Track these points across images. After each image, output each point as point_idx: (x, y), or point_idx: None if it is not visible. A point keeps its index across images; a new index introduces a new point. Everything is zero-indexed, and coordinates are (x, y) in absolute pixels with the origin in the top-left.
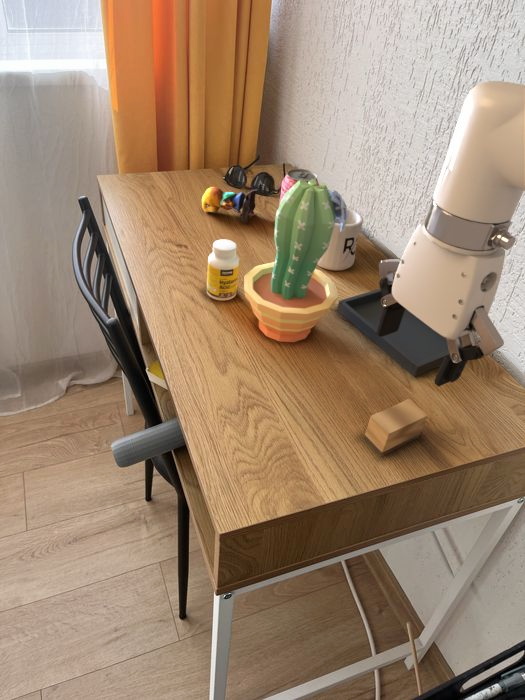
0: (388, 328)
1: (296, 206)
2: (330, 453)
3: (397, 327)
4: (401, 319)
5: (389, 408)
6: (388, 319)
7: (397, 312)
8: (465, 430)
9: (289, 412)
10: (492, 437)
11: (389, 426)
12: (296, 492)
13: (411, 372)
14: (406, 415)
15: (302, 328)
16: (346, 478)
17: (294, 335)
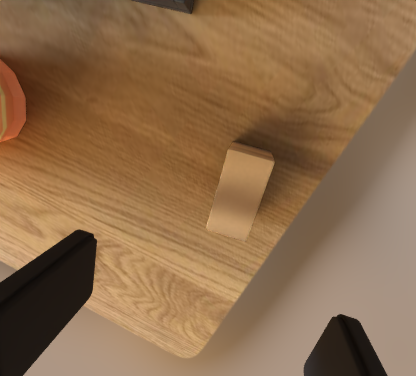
0: (75, 295)
1: None
2: (200, 252)
3: (85, 253)
4: (60, 267)
5: (217, 196)
6: (40, 345)
7: (18, 339)
8: (329, 68)
9: (128, 233)
10: (381, 40)
11: (238, 229)
12: (208, 309)
13: (181, 10)
14: (246, 190)
15: (1, 124)
16: (235, 268)
17: (13, 120)
